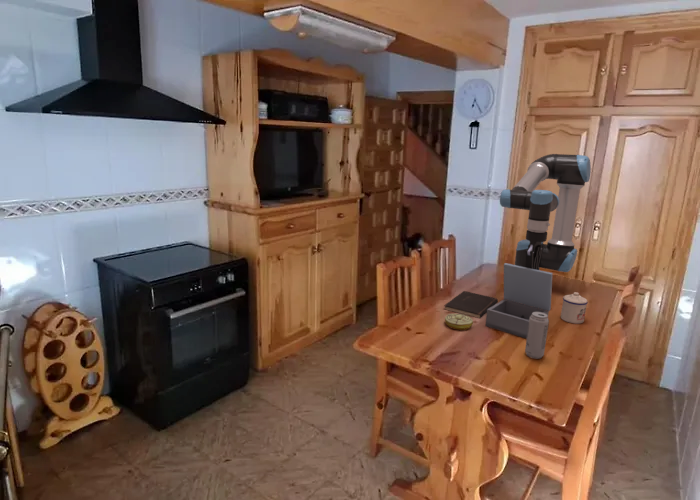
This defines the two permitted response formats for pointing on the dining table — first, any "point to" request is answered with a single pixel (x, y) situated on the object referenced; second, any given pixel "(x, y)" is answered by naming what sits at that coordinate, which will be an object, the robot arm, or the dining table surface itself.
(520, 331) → the grey hinged box
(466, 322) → the olive round disc
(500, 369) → the dining table surface
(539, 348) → the energy drink can
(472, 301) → the hardcover book
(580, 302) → the teacup with lid
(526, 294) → the gray box lid
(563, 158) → the robot arm
